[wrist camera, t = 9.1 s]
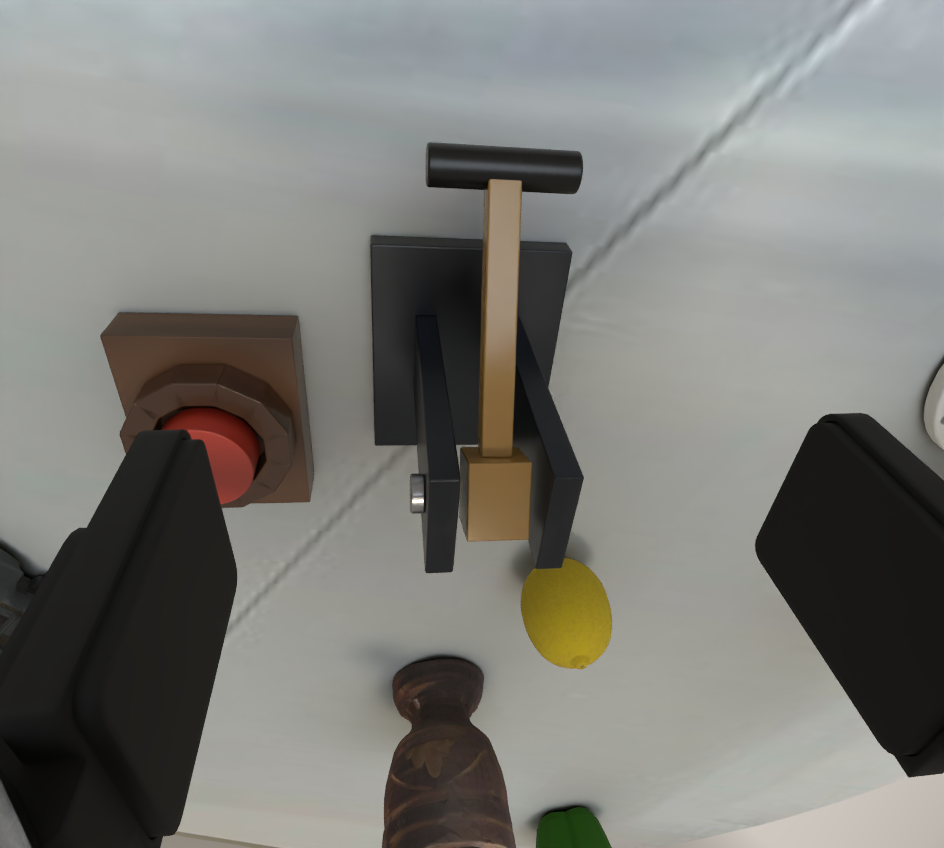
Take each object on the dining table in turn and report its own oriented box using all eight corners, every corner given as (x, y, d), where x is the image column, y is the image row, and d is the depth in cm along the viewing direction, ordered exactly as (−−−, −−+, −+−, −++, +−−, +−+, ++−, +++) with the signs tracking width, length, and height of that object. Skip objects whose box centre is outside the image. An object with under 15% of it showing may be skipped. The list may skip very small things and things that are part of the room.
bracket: (371, 234, 27) (360, 390, 16) (566, 242, 28) (670, 391, 18) (375, 432, 33) (369, 633, 23) (534, 431, 34) (596, 621, 24)
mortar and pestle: (329, 688, 47) (299, 1049, 31) (381, 627, 43) (378, 1003, 27) (453, 716, 52) (482, 1044, 36) (510, 663, 48) (571, 1003, 32)
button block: (118, 311, 27) (82, 355, 24) (298, 315, 29) (287, 357, 25) (166, 477, 33) (143, 529, 30) (314, 474, 34) (306, 525, 31)
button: (149, 406, 26) (136, 430, 25) (253, 406, 27) (246, 429, 26) (171, 482, 29) (160, 507, 28) (265, 480, 30) (259, 504, 28)
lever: (424, 151, 20) (429, 132, 18) (567, 160, 21) (590, 142, 19) (422, 518, 23) (426, 543, 20) (550, 515, 23) (568, 539, 21)
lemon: (568, 592, 43) (600, 697, 37) (499, 580, 42) (519, 688, 35) (605, 540, 41) (646, 644, 34) (532, 525, 39) (560, 632, 32)
